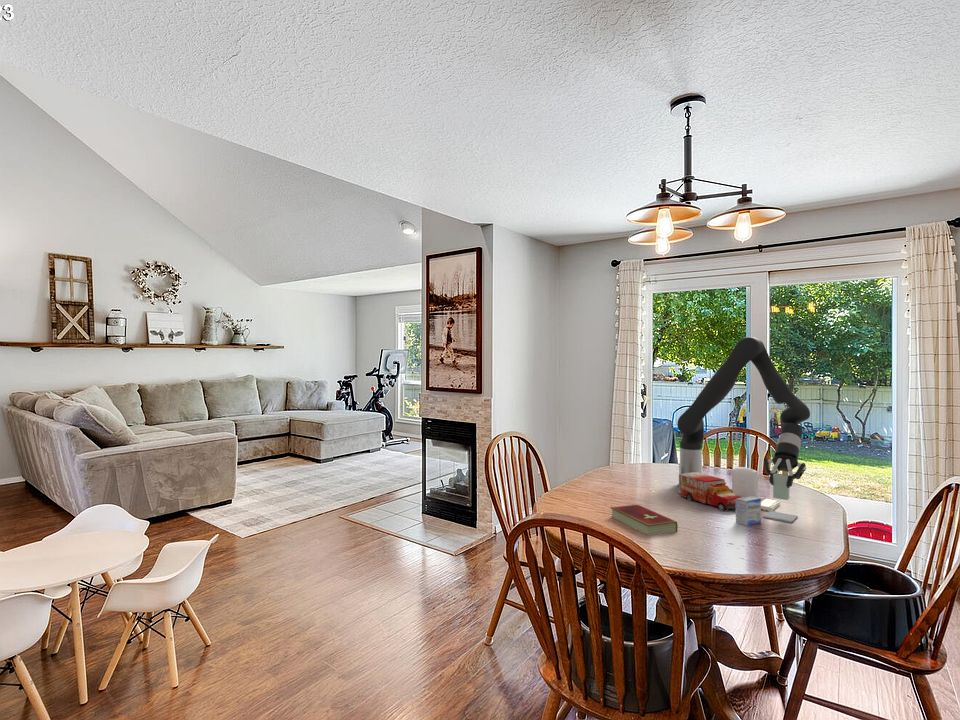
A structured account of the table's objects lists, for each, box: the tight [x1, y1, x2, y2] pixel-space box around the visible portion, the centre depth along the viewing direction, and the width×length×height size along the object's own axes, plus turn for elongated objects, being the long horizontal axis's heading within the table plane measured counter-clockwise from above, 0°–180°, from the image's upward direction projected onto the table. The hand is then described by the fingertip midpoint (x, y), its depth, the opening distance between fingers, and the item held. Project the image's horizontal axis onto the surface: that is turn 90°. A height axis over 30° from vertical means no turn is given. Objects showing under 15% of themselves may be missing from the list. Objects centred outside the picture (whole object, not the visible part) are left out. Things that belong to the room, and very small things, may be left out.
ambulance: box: [677, 472, 743, 512], centre depth 200 cm, size 11×25×10 cm, turn 22°
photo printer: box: [731, 466, 760, 498], centre depth 208 cm, size 10×4×12 cm, turn 39°
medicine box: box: [735, 496, 762, 527], centre depth 175 cm, size 8×4×9 cm, turn 117°
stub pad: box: [762, 510, 799, 524], centre depth 181 cm, size 9×9×1 cm
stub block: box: [772, 473, 790, 501], centre depth 182 cm, size 4×3×8 cm, turn 46°
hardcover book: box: [610, 503, 678, 536], centre depth 174 cm, size 12×21×4 cm, turn 19°
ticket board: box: [761, 498, 781, 512], centre depth 194 cm, size 5×12×2 cm, turn 136°
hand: (780, 485), depth 180 cm, fingers closed on stub block, 4 cm apart
